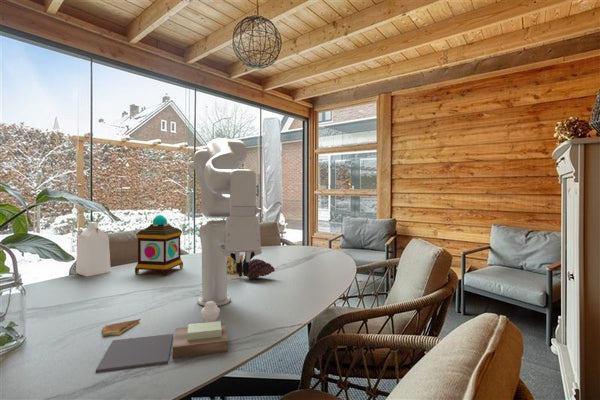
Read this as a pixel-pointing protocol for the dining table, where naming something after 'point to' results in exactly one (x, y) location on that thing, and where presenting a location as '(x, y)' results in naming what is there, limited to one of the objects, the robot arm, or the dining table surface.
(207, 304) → the white swirled ornament
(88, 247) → the milk
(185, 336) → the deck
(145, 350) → the mat
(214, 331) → the pale green block
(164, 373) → the dining table surface
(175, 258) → the decorative lantern
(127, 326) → the shard
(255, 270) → the pine cone
